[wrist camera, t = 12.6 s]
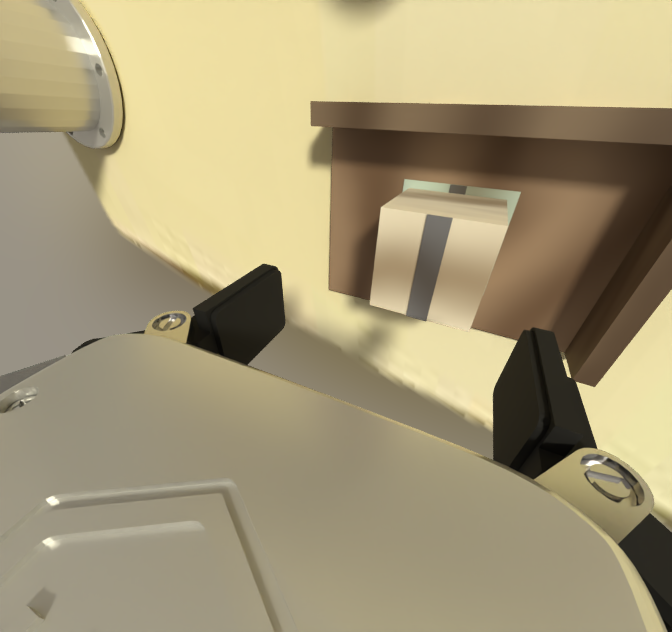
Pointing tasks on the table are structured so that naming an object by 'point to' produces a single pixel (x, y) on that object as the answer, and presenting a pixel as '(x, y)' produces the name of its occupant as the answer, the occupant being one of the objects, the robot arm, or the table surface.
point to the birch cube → (437, 254)
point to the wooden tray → (522, 209)
